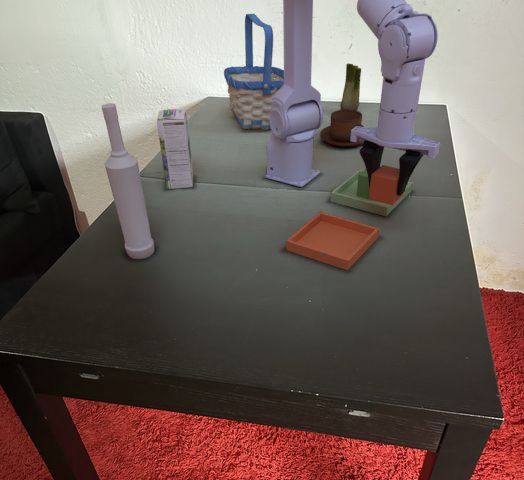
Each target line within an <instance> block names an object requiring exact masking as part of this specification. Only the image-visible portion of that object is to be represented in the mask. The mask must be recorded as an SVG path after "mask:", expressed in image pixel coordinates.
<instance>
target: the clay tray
mask: <svg viewBox="0 0 524 480" xmlns="http://www.w3.org/2000/svg"><path fill="white" fill-rule="evenodd" d="M380 229H381V228H379V227H376V226H372V225H369V224H366V223H362V222H359V221H355V220H352V219H348V218H344V217H341V216H338V215H334V214H330V213H327V212H323V211H319V212H318V213H316V214H315V216H313V217H312V218H311V219H310V220H309V221H307V222H306V223H304V224H303V226H301V227H300V228H298V230H297V231H295V232H294V233H293V234H292V235H291V236H290V237H288V238H287V239H286V240H285V251H286V252H287V251H288V252H291V253H294V254H297V255H299V256H303V257H306V258H309V259H312V260H315V261H318V262H321V263H324V264H327V265H330V266H333V267H336V268H339V269H342V270H345V271H349V270H350V269H351V267H352V266H353V265H354V264H355V263H356V262H357V261H358V260H359V259H360V258H361V257H362V256H363V255H364V253H366V252H367V250H368V249H369V248H370V247H371V246H372V245H374V243H375V242H376V241H377V240H378V239H379V237H380Z"/></svg>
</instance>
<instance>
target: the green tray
mask: <svg viewBox="0 0 524 480" xmlns="http://www.w3.org/2000/svg"><path fill="white" fill-rule="evenodd" d="M363 171H364V170H360V169H357V170H356V171H355V172H354V173H352V174H351V175H350V176H349V177H348V178H347V179H345V180H343V182H342V183H340V184H339V185H338V186H337V187H336V188H335V189H333V190H332V191H331V192H330V200H329V201H330V202H331V203H335V204H339V205H342V206H346V207H350V208H354V209H356V210H361V211H364V212H368V213H372V214H376V215H379V216H383V217H388V216H389V214H390V213H391V212H393V210H394V209H396V208H397V206H398V205H400V203H402V201H404V199H406V197H407V196H408V195H409V194H410V193H412V189H413V182H411V181H408V183H407V186H406V189H405V191H404V193H403V195H402V196H401V197H400V198H399V199H398V200H397V201H396V203H395V204H394V205H389V204H385V203H381V202H378V201H373V200H370V199H366V198H362V197H358V196H357V185H358V175H359V174H360V173H361V172H363Z"/></svg>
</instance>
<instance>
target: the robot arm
mask: <svg viewBox="0 0 524 480" xmlns="http://www.w3.org/2000/svg"><path fill="white" fill-rule="evenodd" d="M356 10H357V11H356V12H357V14H358V15H359V17H360V18H361V19H362V21H363V22H364V23H365V24H366V26H367V27H368V29H369V30H370V31H371V32H372V34H373V35H374V36H375V38H376V39H377V50H378V54H379V57H380V62H381V65H380V72H381V77H382V85H381V94H380V102H379V103H380V104H379V112H378V118H377V119H378V120H377V127H365V126H364V127H359V126H356V127H355V128H353V129H352V130H351V140H350V141H351V142H357V141H360V142H363V143H362V146H361V148H359V155H360V157H361V159H362V161H363V163H364V166H365V169H366V170H367V174H368V180H369V188H370V184H371V175H372V174H373V173H374V172H375V171H376V170H377V169H379V168H380V167H381V162H382V158H383V155H384V149H385V148H387V149H393V150H398V151H403V152H404V153H403V154H402V155H401V156H400V157H399V158H398V163H399V164H398V165H399V166H398V167H399V168H398V169H399V180H398V185H397V195H402V194H403V193H404V191H405V189H406V186H407V183H408V182H410V179H411V176H412V174H413V173H414V170H415V169H416V167H417V166H418V164H419V163H420V161H421V160H422V158H423V157H424V156H427V158H429V159H433V160H434V159H435V158H436V157H437V156H438V155H439V151H440V146H441V142H440V141H435V140H432V139H429V138H426V137H423V136H421V135H418V134H415V133H414V132H415V131H414V130H415V124H416V118H417V113H418V108H419V102H420V101H419V100H420V94H421V89H422V84H423V83H422V81H423V75H424V69H425V64H426V59H428V58H430V57H431V56H432V55H433V54H434V51H435V50H436V47H437V44H438V40H439V39H438V36H439V34H438V28H437V24H436V23H435V20H434V18H433V16H432V15H431V14H429V13H427V12H421V13H419V12H418V11H417V10H414V8H413V6H412V5H411V4H410V3H408V2H407V1H406V0H357V1H356ZM313 15H314V0H282V17H283V18H282V24H283V25H282V26H283V27H282V28H283V30H282V31H283V33H282V34H283V35H282V37H283V70H284V84H283V86H282V87H281V88H280V89H279V90H278V91H277V92H276V93H275V94H274V95H273V97H272V106H271V111H270V115H269V123H270V127H271V129H270V130H271V132H272V133H271V134H270V135H269V137H268V140H267V142H266V174H265V176H264V177H265V179H269V180H273V181H277V182H280V183H283V184H288V185H292V186H295V187H299V188H303V187H305V186H306V185H307V184H308V183H309V182H311V181H312V180H313V179H315V178H316V177H317V176H319V175H320V174H321V171H320V170H316V169H313V163H314V162H313V158H314V136H317V130H319V129H320V128H321V126H322V124H323V120H324V110H323V105H322V101H321V100H322V99H321V98H322V96H321V95H322V94H321V92H320V91H319V90H318V89H316V88H315V87H314V86H313V85H312V65H313V64H312V60H313V58H312V57H313V23H314V22H313V21H314V20H313V17H314V16H313Z"/></svg>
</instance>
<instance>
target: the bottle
mask: <svg viewBox="0 0 524 480" xmlns="http://www.w3.org/2000/svg"><path fill="white" fill-rule="evenodd" d="M101 110H102V115H103V119H104V121H105V126H106V130H107V135H108V138H109V143H110V148H111V151H110V152H109V154H110V155H109V157H108V158H107V159H106V161H105V162H104V167H105V171H106V174H107V179H108V182H109V186H110V191H111V193H112V197H113V201H114V202H113V203H114V206H115V209H116V213H117V216H118V220H119V223H120V228H121V230H122V231H121V232H122V235H123V240H124V242H125V243H124V249H125V253H126V254H127V256H128V257H129V258H131V259H133V260H142V259H147V258H149V257H150V256H152V255H153V254H154V252H155V250H156V249H155V241H154V239H153V238H152V234H151V229H150V222H149V217H148V212H147V207H146V206H147V205H146V201H145V194H144V189H143V184H142V178H141V173H140V168H139V162H138V158H137V157H135V156H133V155H132V154H130V153H129V151H128V149H127V148H125V143H124V140H123V135H122V130H121V125H120V121H119V115H118V111H117V106H116V103H110V102H109V103H104V104H102V105H101Z"/></svg>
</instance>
